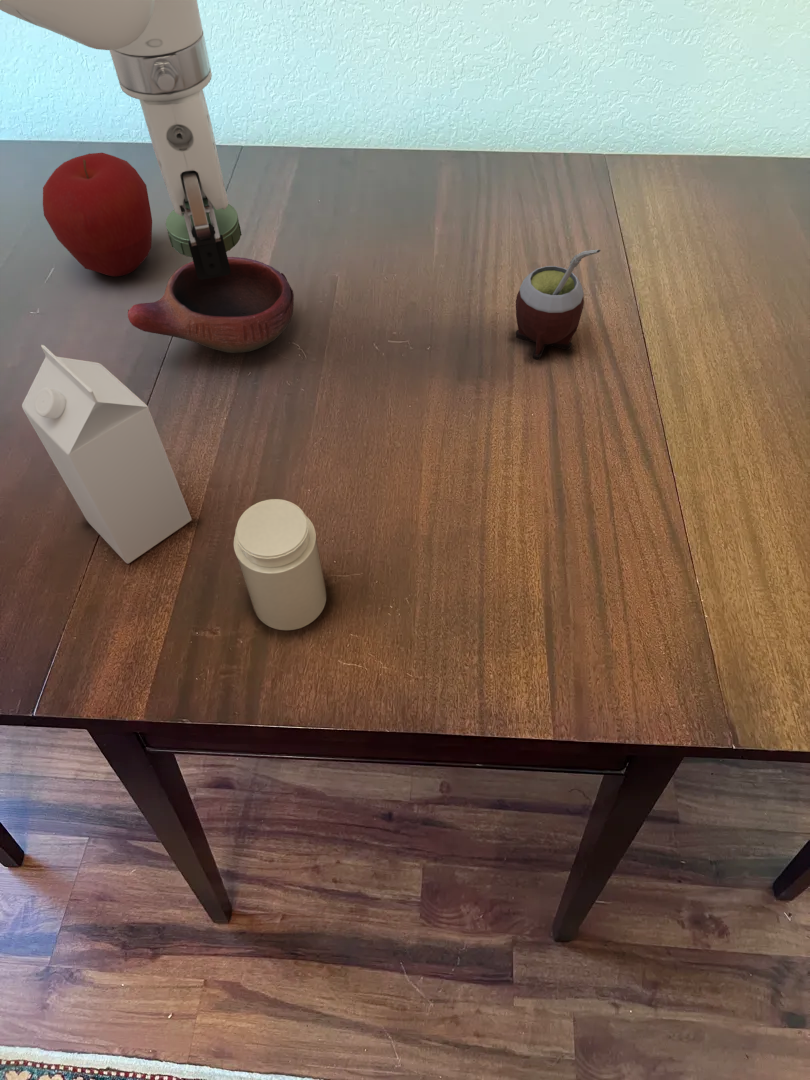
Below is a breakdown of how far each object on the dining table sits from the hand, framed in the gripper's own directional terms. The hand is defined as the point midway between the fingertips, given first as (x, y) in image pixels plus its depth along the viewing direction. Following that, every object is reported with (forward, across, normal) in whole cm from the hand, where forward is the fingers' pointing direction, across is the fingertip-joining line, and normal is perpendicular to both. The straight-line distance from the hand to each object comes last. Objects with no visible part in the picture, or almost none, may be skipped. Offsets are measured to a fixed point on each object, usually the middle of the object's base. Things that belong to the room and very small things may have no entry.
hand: (208, 251), depth 78 cm
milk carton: (+12, -22, +12) cm, 28 cm away
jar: (+12, -35, 0) cm, 37 cm away
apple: (+12, +18, +11) cm, 24 cm away
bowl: (+12, 0, 0) cm, 12 cm away
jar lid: (-3, 0, 0) cm, 3 cm away
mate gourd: (+12, -10, -34) cm, 37 cm away
